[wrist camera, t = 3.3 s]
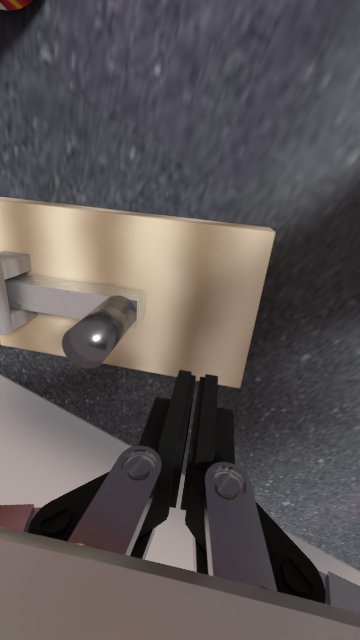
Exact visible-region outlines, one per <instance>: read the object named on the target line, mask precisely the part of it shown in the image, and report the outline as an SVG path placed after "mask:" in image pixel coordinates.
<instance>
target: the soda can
mask: <svg viewBox="0 0 360 640" xmlns="http://www.w3.org/2000/svg"><path fill="white" fill-rule="evenodd" d="M32 1H33V0H0V10H8V11H10V10H17V9H20V8H23V7H25V6H26V5H28V4H29V3H31V2H32Z"/></svg>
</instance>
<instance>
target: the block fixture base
mask: <svg viewBox="0 0 360 640" xmlns="http://www.w3.org/2000/svg"><path fill="white" fill-rule="evenodd" d="M275 233H276V232H275V231H273V230H272V229H271V228H270V227H261V226H252V225H244V224H235V223H226V222H217V221H208V220H200V219H191V218H182V217H173V216H164V215H156V214H147V213H138V212H129V211H120V210H112V209H103V208H94V207H85V206H76V205H68V204H59V203H50V202H41V201H32V200H24V199H15V198H6V197H0V343H1V345H4V346H10V347H15V348H21V349H26V350H32V351H37V352H43V353H48V354H54V355H59V356H65V357H67V356H66V355H65V353H64V351H63V348H62V338H63V336H64V334H65V333H66V332H67V331H68V330H69V329H70V328H72V327H73V326H74V325H75V324H77V323H78V322H79V321H80V320H81V319H77V318H71V317H65V316H59V315H53V314H47V313H40V312H34V311H28V310H22V309H16V308H10V307H9V302H8V297H7V291H6V285H5V280H6V279H9V278H11V277H14V276H17V275H20V274H22V273H23V274H30V275H37V276H44V277H50V278H57V279H64V280H71V281H78V282H84V283H91V284H98V285H105V286H111V287H118V288H125V289H132V290H138V291H145V292H146V297H145V317H144V318H143V320H142V321H141V323H140V324H139V325H138V327H137V328H132V327H130V329H129V330H128V331H127V332H126V334H125V335H124V336H123V337H122V339H121V340H120V341H119V343H118V344H117V345H116V346H115V348H114V349H113V350H112V351H111V353H110V354H109V355H108V357H107V358H106V359H105V360H104V362H103V364H109V365H114V366H119V367H125V368H130V369H136V370H141V371H147V372H152V373H158V374H163V375H169V376H174V377H177V376H178V373H179V370H185V371H191V372H192V374H191V375H195V376H196V381H199V380H200V376H201V377H205V374H209V375H215V376H218V385H224V386H229V387H235V388H240V386H241V382H242V378H243V373H244V369H245V364H246V360H247V356H248V351H249V347H250V342H251V338H252V334H253V329H254V325H255V320H256V316H257V312H258V307H259V303H260V299H261V294H262V290H263V285H264V281H265V277H266V272H267V268H268V263H269V259H270V255H271V250H272V246H273V241H274V237H275Z"/></svg>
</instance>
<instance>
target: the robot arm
mask: <svg viewBox="0 0 360 640" xmlns="http://www.w3.org/2000/svg"><path fill="white" fill-rule="evenodd" d="M191 374H192V372H191V371H185V370H179V373H178V376H177V380H176V384H175V387H174V391H173V394H172V398H171V399H166V398H160V397H156V399H155V401H154V404H153V407H152V410H151V412H150V415H149V418H148V421H147V424H146V426H145V429H144V432H143V435H142V438H141V441H140V443H139V446H134V447H131V448H129V449H127V450H125V451H124V452H123V453H122V454H121V455H120V456H119V458H118V459H117V461H116V463H115V464H114V466H113V468H112V469H111V471H110V472H108V473H106V474H104V475H102V476H100V477H98V478H96V479H94V480H92V481H90V482H88V483H86V484H84V485H82V486H80V487H78V488H76V489H74V490H72V491H70V492H68V493H66V494H64V495H63V496H61V497H59V498H57V499H55V500H53V501H51V502H49V503H48V504H46V505H45V506H43V507H42V508H34V505H33V504H32V505H31V504H28V505H0V640H360V586H358V585H356V584H353V583H352V582H350V581H347V580H346V579H343V578H341V577H339V576H337V575H335V574H333V573H331V572H328V573H327V575H326V574H324V573H322V572H320V571H318V570H317V568H316V567H315V566H314V564H313V563H312V562H311V561H310V559H309V558H308V557H307V556H306V555H305V554H304V553H303V552H302V551H301V550H300V549H299V548H298V546H297V545H296V544H295V543H294V542H293V541H292V540H291V539H290V538H289V537H288V536H287V535H286V534H285V533H284V531H283V530H282V529H281V528H280V527H279V526H278V525H277V524H276V523H275V522H274V521H273V520H272V519H271V517H270V516H269V515H268V514H267V513H266V512H265V511H264V510H263V509H262V508H261V507H260V506H259V505H258V504H257V502H256V501H255V498H254V494H253V490H252V486H251V482H250V480H249V478H248V476H247V475H246V473H245V472H244V471H243V470H242V469H241V468H239V467H238V466H236V465H235V457H234V429H233V411H232V410H228V409H222V408H217V390H218V376H215V375H209V374H205V377H201V376H200V380H199V387H198V394H197V400H196V407H195V414H194V420H193V427H192V434H191V440H190V447H189V454H188V461H187V468H186V475H185V482H184V488H183V495H182V502H181V509H182V510H186V517H185V521H186V522H185V523H186V525H187V527H188V528H189V529H190V531H191V533H192V534H193V536H194V538H193V556H194V571H190V570H185V569H181V568H177V567H173V566H168V565H164V564H160V563H156V562H151V561H147V560H145V558H146V555H147V552H148V549H149V547H150V544H151V541H152V538H153V535H154V532H155V527H156V526H158V525H159V524H161V523H162V522H163V521H165V520H166V519H167V517H168V514H169V508H170V507H173V508H175V507H176V502H177V496H178V490H179V484H180V478H181V472H182V466H183V459H184V453H185V447H186V441H187V435H188V429H189V422H190V415H191V408H192V401H193V394H194V387H195V380H196V376H195V375H191Z"/></svg>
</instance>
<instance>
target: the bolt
mask: <svg viewBox="0 0 360 640" xmlns="http://www.w3.org/2000/svg"><path fill="white" fill-rule="evenodd" d="M5 285H6V291H7V297H8V302H9V307H10V308H16V309H22V310H28V311H34V312H40V313H47V314H53V315H59V316H65V317H71V318H77V319H81V320H80V321H79V322H78V323H77V324H75V325H74V326H73V327H72V328H70V329H69V330H68V331H67V332H66V333H65V334H64V336H63V338H62V348H63V351H64V353H65V355H66V356H67V358H68V359H69V360H70V361H71V362H73V363H74V364H75V365H77V366H79V367H82V368H88V369H91V368H96V367H98V366H100V365H101V364H102V363H103V362H104V360H105V359H106V358H107V357H108V355H109V354H110V353H111V351H112V350H113V349H114V348H115V346H116V345H117V344H118V343H119V341H120V340H121V339H122V337H123V336H124V335H125V334H126V332H127V331H128V330H129V329H130V327H132V328H137V327H138V325H139V324H140V323H141V321H142V320H143V318H144V317H145V297H146V292H145V291H138V290H132V289H125V288H118V287H111V286H105V285H98V284H91V283H84V282H78V281H71V280H64V279H57V278H50V277H44V276H37V275H30V274H23V273H22V274H20V275H17V276H14V277H11V278H9V279H6V280H5Z"/></svg>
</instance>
